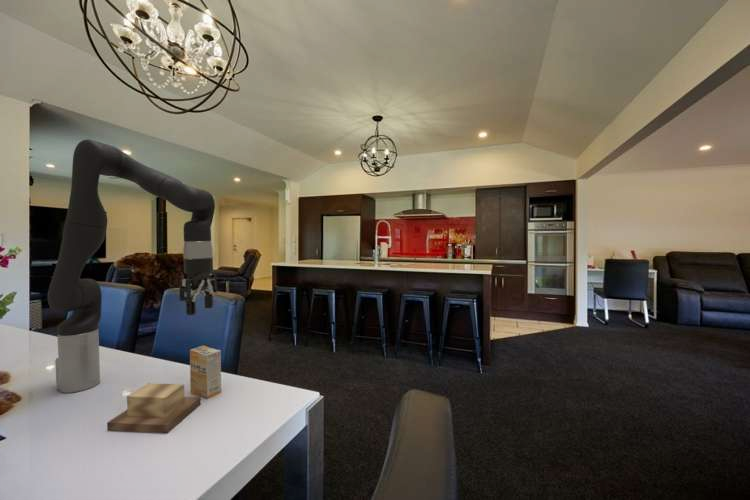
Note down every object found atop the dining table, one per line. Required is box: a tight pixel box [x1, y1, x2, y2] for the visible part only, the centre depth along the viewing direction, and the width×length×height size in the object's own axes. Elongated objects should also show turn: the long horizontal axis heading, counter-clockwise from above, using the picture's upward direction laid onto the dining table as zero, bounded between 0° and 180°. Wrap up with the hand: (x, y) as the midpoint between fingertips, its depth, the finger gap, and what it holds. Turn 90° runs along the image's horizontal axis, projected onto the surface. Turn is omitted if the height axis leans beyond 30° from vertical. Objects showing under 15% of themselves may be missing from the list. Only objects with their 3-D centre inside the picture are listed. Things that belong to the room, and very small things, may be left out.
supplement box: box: [189, 345, 222, 399], centre depth 94 cm, size 8×5×13 cm, turn 62°
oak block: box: [126, 382, 186, 418], centre depth 82 cm, size 10×7×5 cm
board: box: [106, 396, 201, 434], centre depth 82 cm, size 15×13×2 cm
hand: (200, 311), depth 94 cm, fingers open, 8 cm apart
